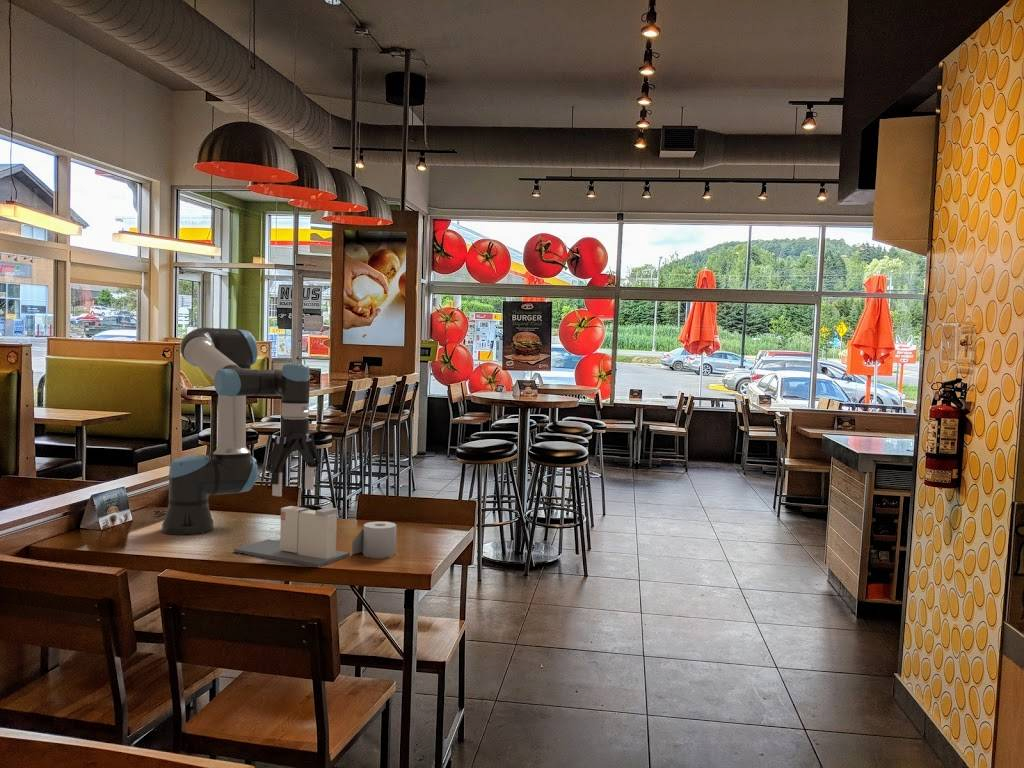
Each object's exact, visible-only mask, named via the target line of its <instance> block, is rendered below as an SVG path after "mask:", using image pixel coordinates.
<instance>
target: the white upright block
mask: <svg viewBox="0 0 1024 768" xmlns="http://www.w3.org/2000/svg"><path fill="white" fill-rule="evenodd" d="M303 509H307V508H301V507H297V506H294V505H289V506H284V507H280V534H279V536H280V538H279V539H280V540H279V541H280V550H283V551H288V552H294V553H298V536H299V510H303Z"/></svg>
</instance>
